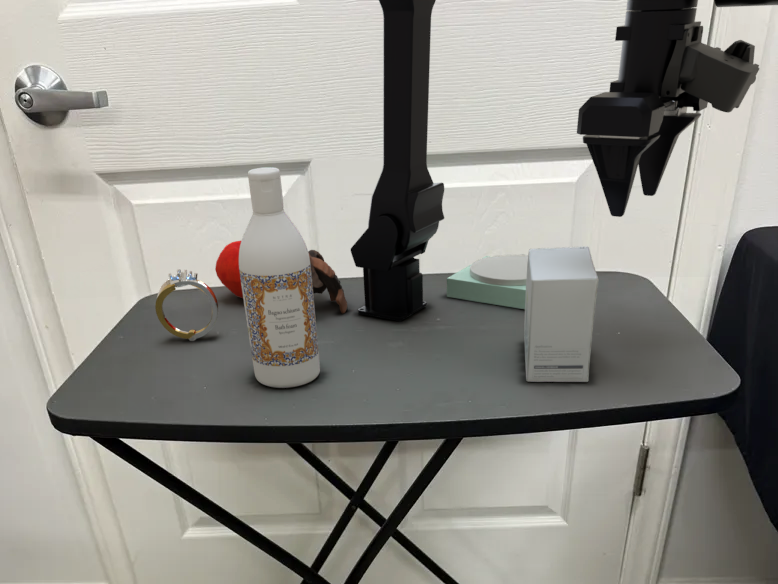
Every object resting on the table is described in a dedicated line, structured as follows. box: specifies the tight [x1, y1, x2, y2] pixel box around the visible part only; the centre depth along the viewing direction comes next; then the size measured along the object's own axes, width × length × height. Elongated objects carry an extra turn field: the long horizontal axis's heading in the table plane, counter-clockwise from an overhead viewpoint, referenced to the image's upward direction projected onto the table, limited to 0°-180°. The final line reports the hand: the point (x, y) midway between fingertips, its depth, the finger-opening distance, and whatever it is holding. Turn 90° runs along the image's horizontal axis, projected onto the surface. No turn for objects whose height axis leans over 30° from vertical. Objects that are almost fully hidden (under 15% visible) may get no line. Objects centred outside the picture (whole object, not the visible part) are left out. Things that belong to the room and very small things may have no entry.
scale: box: [446, 254, 528, 310], centre depth 100 cm, size 13×11×3 cm
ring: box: [154, 268, 219, 342], centre depth 89 cm, size 7×3×8 cm, turn 92°
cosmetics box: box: [523, 245, 600, 383], centre depth 78 cm, size 10×6×10 cm, turn 172°
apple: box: [214, 240, 243, 299], centre depth 101 cm, size 8×8×7 cm
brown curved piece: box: [308, 249, 348, 314], centre depth 98 cm, size 12×10×8 cm
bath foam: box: [239, 166, 321, 389], centre depth 76 cm, size 7×7×20 cm
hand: (633, 205), depth 75 cm, fingers open, 9 cm apart
